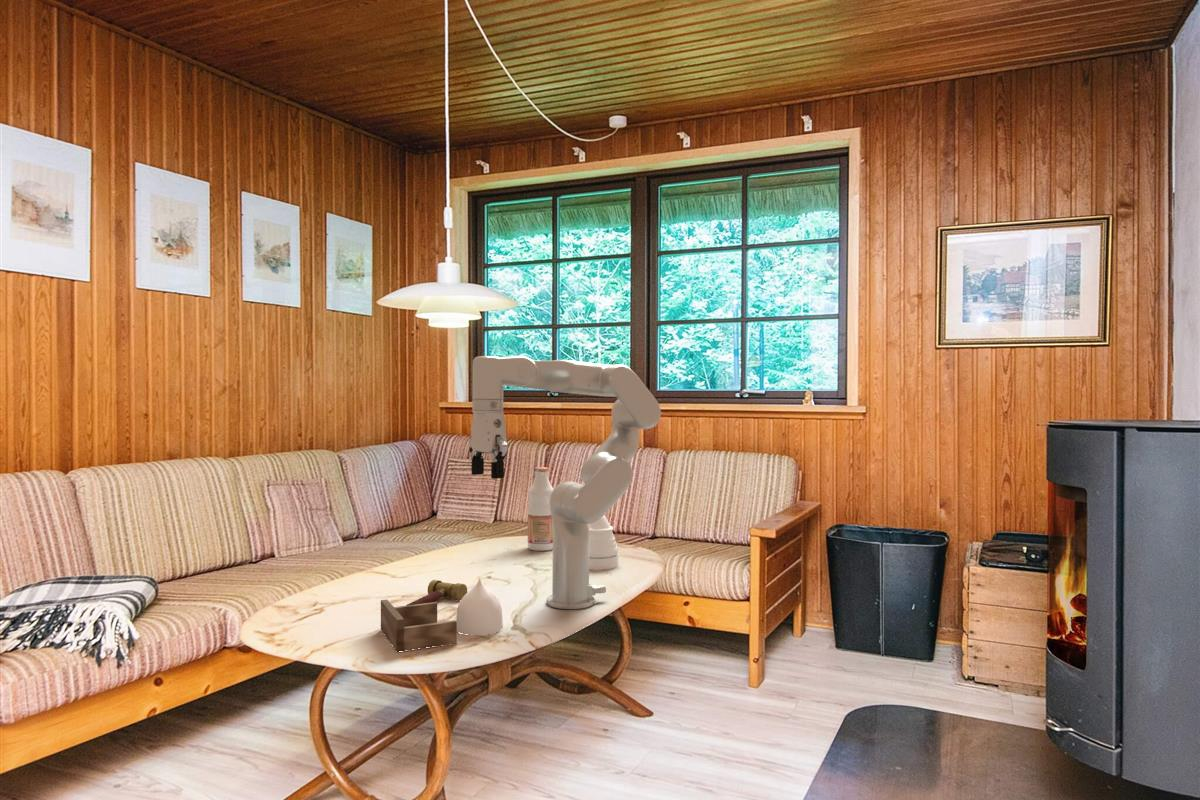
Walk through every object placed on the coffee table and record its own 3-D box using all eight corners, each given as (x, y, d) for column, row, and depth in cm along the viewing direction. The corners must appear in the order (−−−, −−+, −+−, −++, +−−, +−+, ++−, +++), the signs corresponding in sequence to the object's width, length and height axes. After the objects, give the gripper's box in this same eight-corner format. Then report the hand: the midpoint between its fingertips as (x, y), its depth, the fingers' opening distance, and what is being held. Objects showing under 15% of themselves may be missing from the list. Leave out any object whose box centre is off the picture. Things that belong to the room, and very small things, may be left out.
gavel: (415, 607, 192) (384, 601, 196) (416, 625, 192) (385, 619, 197) (467, 581, 211) (437, 577, 215) (468, 598, 211) (438, 594, 215)
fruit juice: (522, 547, 275) (522, 467, 274) (545, 544, 281) (545, 465, 280) (537, 552, 267) (537, 469, 267) (560, 549, 273) (560, 468, 273)
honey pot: (577, 560, 257) (577, 504, 256) (617, 560, 257) (617, 504, 257) (577, 569, 244) (578, 511, 243) (619, 569, 244) (619, 511, 244)
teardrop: (460, 621, 191) (460, 571, 190) (506, 621, 191) (506, 572, 190) (451, 636, 180) (451, 583, 179) (500, 636, 180) (500, 583, 179)
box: (436, 622, 189) (436, 593, 189) (456, 644, 174) (456, 612, 174) (380, 630, 183) (380, 600, 183) (396, 652, 168) (396, 620, 168)
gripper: (519, 407, 189) (519, 478, 190) (483, 405, 203) (483, 472, 203) (492, 407, 185) (491, 481, 185) (457, 405, 198) (457, 473, 199)
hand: (487, 476), depth 194 cm, fingers open, 9 cm apart
